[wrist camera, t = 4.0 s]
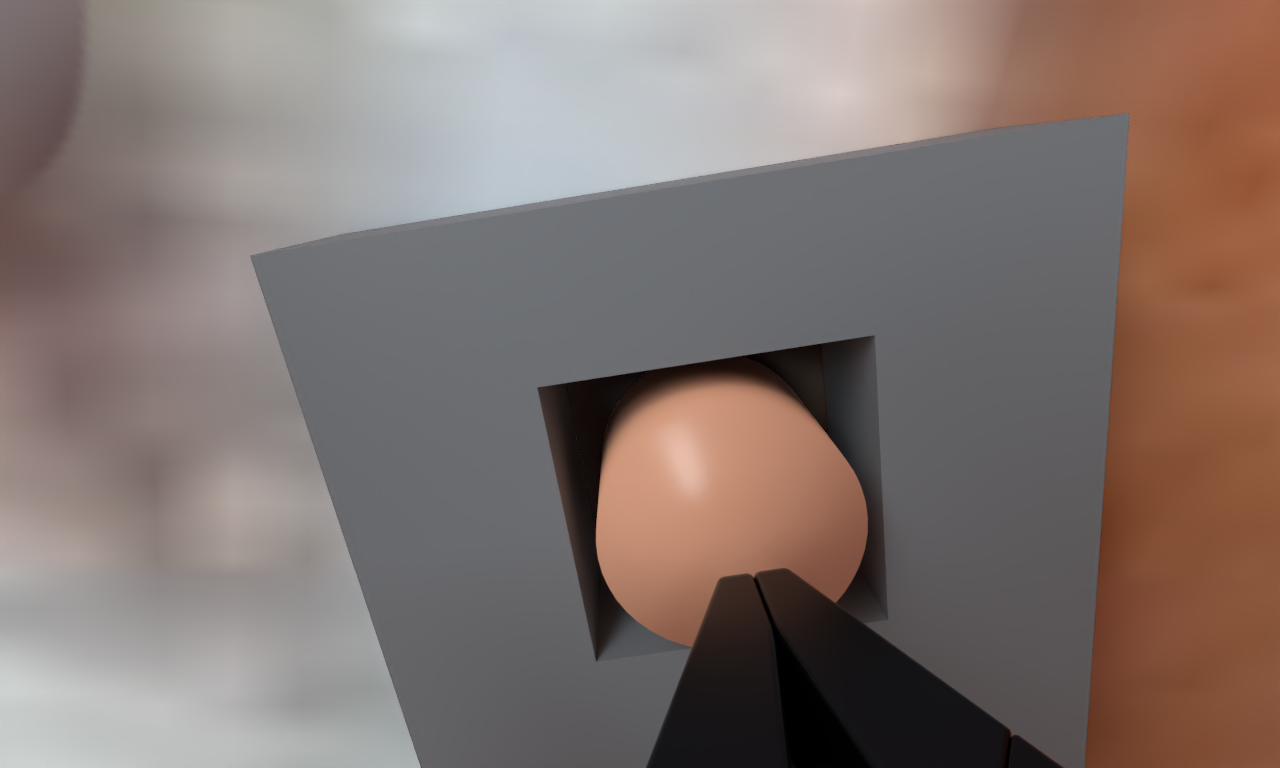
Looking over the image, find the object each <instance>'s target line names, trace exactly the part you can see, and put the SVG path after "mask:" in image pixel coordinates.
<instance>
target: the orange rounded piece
mask: <svg viewBox="0 0 1280 768" xmlns="http://www.w3.org/2000/svg"><path fill="white" fill-rule="evenodd" d="M867 534H868V515H867V507H866V501H865V498H864V494H863V491H862V487H861V485H860V483H859V481H858V479H857V476H856V474H855V472H854V471H853V469H852V468H851V466H850V465H849V463H848V462H847V460H846V459H845V457H844V456H843V455H842V453H841V452H840V451H839V449H838V448H837V447H836V445H835V444H834V443H833V442H832V440H831V439H830V438H829V436H828V435H827V434H826V432H825V431H824V430H823V428H822V427H821V426H820V424H819V423H818V422H817V420H816V419H815V418H814V417H813V415H812V414H811V413H810V411H809V410H808V409H807V407H806V406H805V405H804V403H803V402H802V401H801V399H800V398H799V397H798V396H797V394H796V393H795V392H794V390H793V389H792V388H791V387H790V386H789V385H788V384H787V383H786V381H784V380H783V379H782V378H781V377H780V376H778V375H777V374H776V373H775V372H773V371H772V370H770V369H768V368H767V367H765V366H764V365H762V364H759V363H757V362H755V361H753V360H750V359H747V358H744V357H740V356H737V357H731V358H724V359H718V360H711V361H705V362H699V363H692V364H686V365H679V366H673V367H666V368H660V369H653V370H651V371H649V372H648V373H646V374H645V375H643V376H642V377H641V378H640V379H638V380H637V381H636V382H635V383H634V384H633V385H632V386H631V387H630V388H629V389H628V390H627V391H626V392H625V394H624V395H623V396H622V397H621V399H620V400H619V402H618V403H617V405H616V406H615V408H614V410H613V412H612V414H611V416H610V418H609V421H608V424H607V427H606V430H605V434H604V440H603V448H602V460H601V473H600V486H599V498H598V511H597V524H596V547H597V555H598V560H599V564H600V567H601V571H602V574H603V576H604V578H605V581H606V583H607V585H608V587H609V589H610V590H611V592H612V594H613V595H614V597H615V598H616V600H617V601H618V602H619V603H620V605H621V606H622V607H623V608H624V609H625V610H626V612H627V613H629V614H630V615H631V616H632V617H633V618H634V619H635V620H636V621H637V622H639V623H640V624H642V625H643V626H644V627H646V628H647V629H649V630H650V631H652V632H654V633H656V634H658V635H660V636H661V637H663V638H665V639H668V640H671V641H673V642H676V643H679V644H682V645H686V646H690V647H692V646H693V643H694V641H695V638H696V636H697V633H698V630H699V628H700V625H701V623H702V620H703V617H704V615H705V612H706V610H707V607H708V604H709V602H710V599H711V597H712V594H713V591H714V589H715V586H716V584H717V581H718V580H719V578H721V577H724V576H731V575H738V574H745V573H749V574H751V575H752V576H753V577H754V575H755V573H757V572H759V571H765V570H772V569H778V568H787V569H789V570H791V571H792V572H794V573H795V574H796V575H798V576H799V577H801V578H802V579H803V580H805V581H806V582H807V583H809V584H810V585H812V586H813V587H814V588H816V589H817V590H819V591H820V592H821V593H823V594H824V595H825V596H827V597H828V598H830V599H831V600H832V601H834V602H835V603H836V602H837V601H838V600H839V598H840V597H841V596H842V595H843V594H844V592H845V591H846V589H847V588H848V586H849V585H850V583H851V582H852V580H853V578H854V576H855V574H856V572H857V570H858V568H859V566H860V563H861V560H862V557H863V554H864V551H865V546H866V540H867Z"/></svg>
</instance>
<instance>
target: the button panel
mask: <svg viewBox="0 0 1280 768" xmlns="http://www.w3.org/2000/svg"><path fill="white" fill-rule="evenodd" d="M1129 114H1130V113H1128V114H1119V115H1110V116H1100V117H1091V118H1082V119H1073V120H1063V121H1054V122H1045V123H1036V124H1026V125H1017V126H1008V127H1001V128H995V129H989V130H983V131H977V132H970V133H964V134H958V135H952V136H946V137H940V138H933V139H927V140H921V141H915V142H909V143H903V144H896V145H890V146H884V147H878V148H872V149H866V150H859V151H853V152H847V153H841V154H835V155H829V156H822V157H816V158H810V159H804V160H798V161H792V162H785V163H779V164H773V165H767V166H761V167H755V168H749V169H742V170H736V171H730V172H724V173H718V174H712V175H705V176H699V177H693V178H687V179H681V180H675V181H668V182H662V183H656V184H650V185H644V186H638V187H631V188H625V189H619V190H613V191H607V192H601V193H594V194H588V195H582V196H576V197H570V198H564V199H557V200H551V201H545V202H539V203H533V204H527V205H520V206H514V207H508V208H502V209H496V210H490V211H483V212H477V213H471V214H465V215H459V216H453V217H447V218H440V219H434V220H428V221H422V222H416V223H410V224H403V225H397V226H391V227H385V228H379V229H373V230H366V231H360V232H354V233H348V234H342V235H337V236H332V237H328V238H324V239H320V240H315V241H311V242H307V243H303V244H298V245H294V246H290V247H286V248H281V249H277V250H273V251H269V252H264V253H260V254H256V255H251V256H250V257H251V260H252V263H253V266H254V269H255V272H256V275H257V278H258V281H259V284H260V287H261V290H262V293H263V296H264V298H265V301H266V304H267V307H268V310H269V313H270V316H271V319H272V322H273V325H274V328H275V331H276V334H277V337H278V340H279V343H280V346H281V349H282V352H283V355H284V358H285V361H286V364H287V367H288V370H289V373H290V376H291V379H292V382H293V385H294V388H295V391H296V394H297V397H298V400H299V403H300V406H301V409H302V412H303V415H304V418H305V421H306V424H307V427H308V430H309V433H310V436H311V439H312V442H313V445H314V448H315V451H316V454H317V457H318V460H319V463H320V466H321V469H322V472H323V475H324V478H325V481H326V484H327V487H328V490H329V493H330V496H331V499H332V502H333V505H334V508H335V511H336V514H337V517H338V520H339V523H340V526H341V529H342V532H343V535H344V538H345V541H346V544H347V547H348V550H349V553H350V556H351V559H352V562H353V565H354V568H355V571H356V574H357V577H358V580H359V583H360V586H361V589H362V592H363V595H364V598H365V601H366V604H367V607H368V610H369V613H370V616H371V619H372V622H373V625H374V628H375V631H376V634H377V637H378V640H379V643H380V646H381V649H382V652H383V655H384V658H385V661H386V664H387V667H388V670H389V673H390V676H391V679H392V682H393V685H394V688H395V691H396V694H397V697H398V700H399V703H400V706H401V709H402V712H403V715H404V718H405V721H406V724H407V727H408V730H409V733H410V736H411V739H412V742H413V745H414V748H415V751H416V754H417V757H418V760H419V763H420V766H421V768H646V766H647V763H648V760H649V758H650V755H651V753H652V750H653V747H654V745H655V742H656V740H657V737H658V734H659V732H660V729H661V727H662V724H663V721H664V719H665V716H666V714H667V711H668V708H669V706H670V703H671V701H672V698H673V695H674V693H675V690H676V688H677V685H678V682H679V680H680V677H681V675H682V672H683V669H684V667H685V664H686V662H687V659H688V656H689V654H690V651H691V649H692V647H690V646H686V645H682V644H679V643H676V642H673V641H671V640H668V639H665V638H663V637H661V636H660V635H658V634H656V633H654V632H652V631H650V630H649V629H647V628H646V627H644V626H643V625H642V624H640V623H639V622H637V621H636V620H635V619H634V618H633V617H632V616H631V615H630V614H629V613H627V612H626V610H625V609H624V608H623V607H622V606H621V605H620V603H619V602H618V601H617V600H616V598H615V597H614V595H613V594H612V592H611V590H610V589H609V587H608V585H607V583H606V581H605V578H604V576H603V574H602V571H601V567H600V564H599V560H598V555H597V547H596V532H595V527H594V522H593V517H592V512H591V507H590V502H589V497H588V492H587V487H586V482H585V477H584V472H583V467H582V462H581V457H580V452H579V447H578V442H577V437H576V432H575V427H574V422H573V417H572V412H571V407H570V402H569V397H568V392H567V387H566V383H569V382H576V381H582V380H589V379H595V378H602V377H608V376H615V375H621V374H627V373H634V372H640V371H647V370H653V369H660V368H666V367H673V366H679V365H686V364H692V363H699V362H705V361H711V360H718V359H724V358H731V357H737V356H744V355H750V354H757V353H763V352H770V351H776V350H783V349H789V348H795V347H802V346H808V345H815V344H822V358H823V372H824V386H825V400H826V414H827V427H828V436H829V438H830V439H831V440H832V442H833V443H834V444H835V445H836V447H837V448H838V449H839V451H840V452H841V453H842V455H843V456H844V457H845V459H846V460H847V462H848V463H849V465H850V466H851V468H852V469H853V471H854V472H855V474H856V476H857V479H858V481H859V483H860V485H861V487H862V491H863V494H864V498H865V501H866V507H867V515H868V534H867V540H866V546H865V551H864V554H863V557H862V560H861V563H860V566H859V568H858V570H857V572H856V574H855V576H854V578H853V580H852V582H851V583H850V585H849V586H848V588H847V589H846V591H845V592H844V594H843V595H842V596H841V597H840V598H839V600H838V601H837V602H836V604H838V605H839V606H841V607H842V608H843V609H845V610H846V611H847V612H849V613H850V614H852V615H853V616H854V617H856V618H857V619H859V620H860V621H861V622H863V623H864V624H865V625H867V626H868V627H870V628H871V629H872V630H874V631H875V632H876V633H878V634H879V635H881V636H882V637H883V638H885V639H886V640H888V641H889V642H890V643H892V644H893V645H894V646H896V647H897V648H899V649H900V650H901V651H903V652H904V653H905V654H907V655H908V656H910V657H911V658H912V659H914V660H915V661H917V662H918V663H919V664H921V665H922V666H923V667H925V668H926V669H928V670H929V671H930V672H932V673H933V674H934V675H936V676H937V677H939V678H940V679H941V680H943V681H944V682H946V683H947V684H948V685H950V686H951V687H952V688H954V689H955V690H957V691H958V692H959V693H961V694H962V695H963V696H965V697H966V698H968V699H969V700H970V701H972V702H973V703H975V704H976V705H977V706H979V707H980V708H981V709H983V710H984V711H986V712H987V713H988V714H990V715H991V716H992V717H994V718H995V719H997V720H998V721H999V722H1001V723H1002V724H1004V725H1005V726H1006V727H1008V728H1009V729H1010V730H1011V732H1012V736H1013V735H1019V736H1021V737H1022V738H1023V739H1025V740H1026V741H1027V742H1029V743H1030V744H1032V745H1033V746H1034V747H1036V748H1037V749H1039V750H1040V751H1041V752H1043V753H1044V754H1045V755H1047V756H1048V757H1050V758H1051V759H1052V760H1054V761H1055V762H1057V763H1058V764H1060V765H1061V766H1062V767H1064V768H1085V756H1086V741H1087V726H1088V712H1089V697H1090V683H1091V668H1092V654H1093V639H1094V624H1095V610H1096V595H1097V581H1098V566H1099V552H1100V537H1101V522H1102V508H1103V493H1104V479H1105V464H1106V450H1107V435H1108V420H1109V406H1110V391H1111V377H1112V362H1113V348H1114V333H1115V318H1116V304H1117V289H1118V275H1119V260H1120V246H1121V231H1122V216H1123V202H1124V187H1125V173H1126V158H1127V144H1128V129H1129Z"/></svg>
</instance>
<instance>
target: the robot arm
mask: <svg viewBox="0 0 1280 768" xmlns="http://www.w3.org/2000/svg"><path fill="white" fill-rule="evenodd" d="M646 768H1064V767H1062V766H1061V765H1060V764H1058V763H1057V762H1055V761H1054V760H1052V759H1051V758H1050V757H1048V756H1047V755H1045V754H1044V753H1043V752H1041V751H1040V750H1039V749H1037V748H1036V747H1034V746H1033V745H1032V744H1030V743H1029V742H1027V741H1026V740H1025V739H1023V738H1022V737H1021V736H1019V735H1013V736H1012V732H1011V730H1010V729H1009V728H1008V727H1006V726H1005V725H1004V724H1002V723H1001V722H999V721H998V720H997V719H995V718H994V717H992V716H991V715H990V714H988V713H987V712H986V711H984V710H983V709H981V708H980V707H979V706H977V705H976V704H975V703H973V702H972V701H970V700H969V699H968V698H966V697H965V696H963V695H962V694H961V693H959V692H958V691H957V690H955V689H954V688H952V687H951V686H950V685H948V684H947V683H946V682H944V681H943V680H941V679H940V678H939V677H937V676H936V675H934V674H933V673H932V672H930V671H929V670H928V669H926V668H925V667H923V666H922V665H921V664H919V663H918V662H917V661H915V660H914V659H912V658H911V657H910V656H908V655H907V654H905V653H904V652H903V651H901V650H900V649H899V648H897V647H896V646H894V645H893V644H892V643H890V642H889V641H888V640H886V639H885V638H883V637H882V636H881V635H879V634H878V633H876V632H875V631H874V630H872V629H871V628H870V627H868V626H867V625H865V624H864V623H863V622H861V621H860V620H859V619H857V618H856V617H854V616H853V615H852V614H850V613H849V612H847V611H846V610H845V609H843V608H842V607H841V606H839V605H838V604H836V603H835V602H834V601H832V600H831V599H830V598H828V597H827V596H825V595H824V594H823V593H821V592H820V591H819V590H817V589H816V588H814V587H813V586H812V585H810V584H809V583H807V582H806V581H805V580H803V579H802V578H801V577H799V576H798V575H796V574H795V573H794V572H792V571H791V570H789V569H787V568H778V569H772V570H765V571H759V572H757V573H755V575H754V577H753V576H752V575H751V574H749V573H745V574H738V575H731V576H724V577H721V578H719V580H718V581H717V584H716V586H715V589H714V591H713V594H712V597H711V599H710V602H709V604H708V607H707V610H706V612H705V615H704V617H703V620H702V623H701V625H700V628H699V630H698V633H697V636H696V638H695V641H694V643H693V646H692V649H691V651H690V654H689V656H688V659H687V662H686V664H685V667H684V669H683V672H682V675H681V677H680V680H679V682H678V685H677V688H676V690H675V693H674V695H673V698H672V701H671V703H670V706H669V708H668V711H667V714H666V716H665V719H664V721H663V724H662V727H661V729H660V732H659V734H658V737H657V740H656V742H655V745H654V747H653V750H652V753H651V755H650V758H649V760H648V763H647V766H646Z"/></svg>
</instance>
